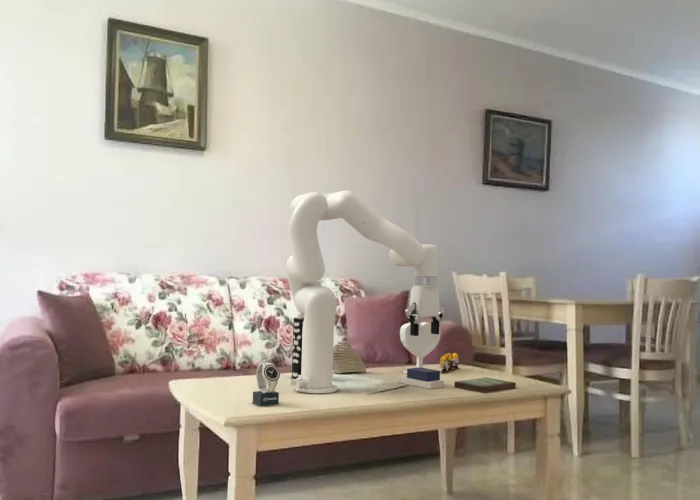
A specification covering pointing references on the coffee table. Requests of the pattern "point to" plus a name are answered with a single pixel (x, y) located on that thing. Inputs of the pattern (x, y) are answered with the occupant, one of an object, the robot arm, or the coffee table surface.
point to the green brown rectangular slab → (485, 385)
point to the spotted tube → (297, 347)
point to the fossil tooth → (346, 359)
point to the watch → (271, 377)
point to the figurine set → (449, 362)
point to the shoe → (422, 378)
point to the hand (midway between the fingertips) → (424, 334)
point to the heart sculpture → (419, 341)
